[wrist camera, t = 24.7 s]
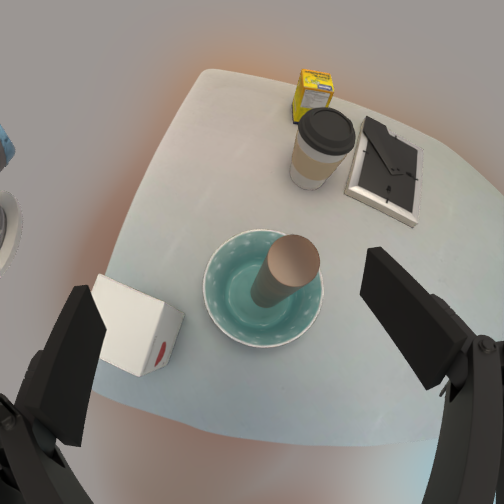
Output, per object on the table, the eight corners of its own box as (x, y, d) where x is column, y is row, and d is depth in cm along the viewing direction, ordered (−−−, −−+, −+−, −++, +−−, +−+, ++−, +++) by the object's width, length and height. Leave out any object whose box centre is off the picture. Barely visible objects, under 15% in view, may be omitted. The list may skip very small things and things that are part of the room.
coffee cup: (283, 192, 50) (303, 140, 36) (283, 151, 53) (300, 95, 38) (332, 197, 51) (365, 151, 36) (328, 157, 53) (355, 106, 39)
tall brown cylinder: (256, 312, 36) (279, 294, 20) (245, 282, 37) (259, 243, 21) (286, 301, 36) (328, 275, 21) (275, 272, 37) (307, 227, 22)
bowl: (190, 273, 45) (182, 259, 37) (277, 230, 48) (286, 210, 40) (237, 363, 41) (239, 370, 33) (324, 314, 44) (344, 309, 37)
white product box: (167, 367, 40) (139, 381, 26) (117, 344, 40) (71, 345, 26) (187, 313, 43) (167, 301, 29) (135, 292, 43) (96, 271, 29)
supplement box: (317, 108, 57) (330, 73, 47) (320, 127, 55) (335, 91, 45) (291, 104, 57) (301, 67, 46) (292, 123, 55) (303, 86, 44)
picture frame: (361, 123, 57) (344, 193, 51) (366, 115, 54) (349, 186, 48) (419, 153, 57) (412, 227, 50) (425, 147, 54) (420, 222, 48)
